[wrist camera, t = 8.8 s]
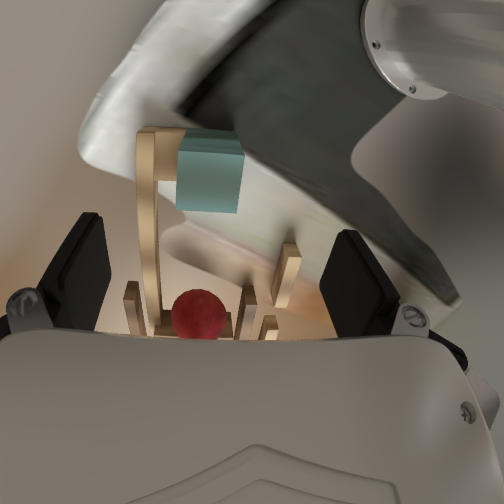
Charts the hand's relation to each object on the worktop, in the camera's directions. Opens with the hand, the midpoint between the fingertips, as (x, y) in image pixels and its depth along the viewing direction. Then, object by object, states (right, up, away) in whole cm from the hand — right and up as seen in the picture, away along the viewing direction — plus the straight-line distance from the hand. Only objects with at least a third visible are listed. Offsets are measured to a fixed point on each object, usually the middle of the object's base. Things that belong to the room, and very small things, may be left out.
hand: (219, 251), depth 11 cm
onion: (-5, -5, +22) cm, 23 cm away
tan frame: (-5, +1, +17) cm, 18 cm away
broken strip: (+4, -7, +25) cm, 26 cm away
